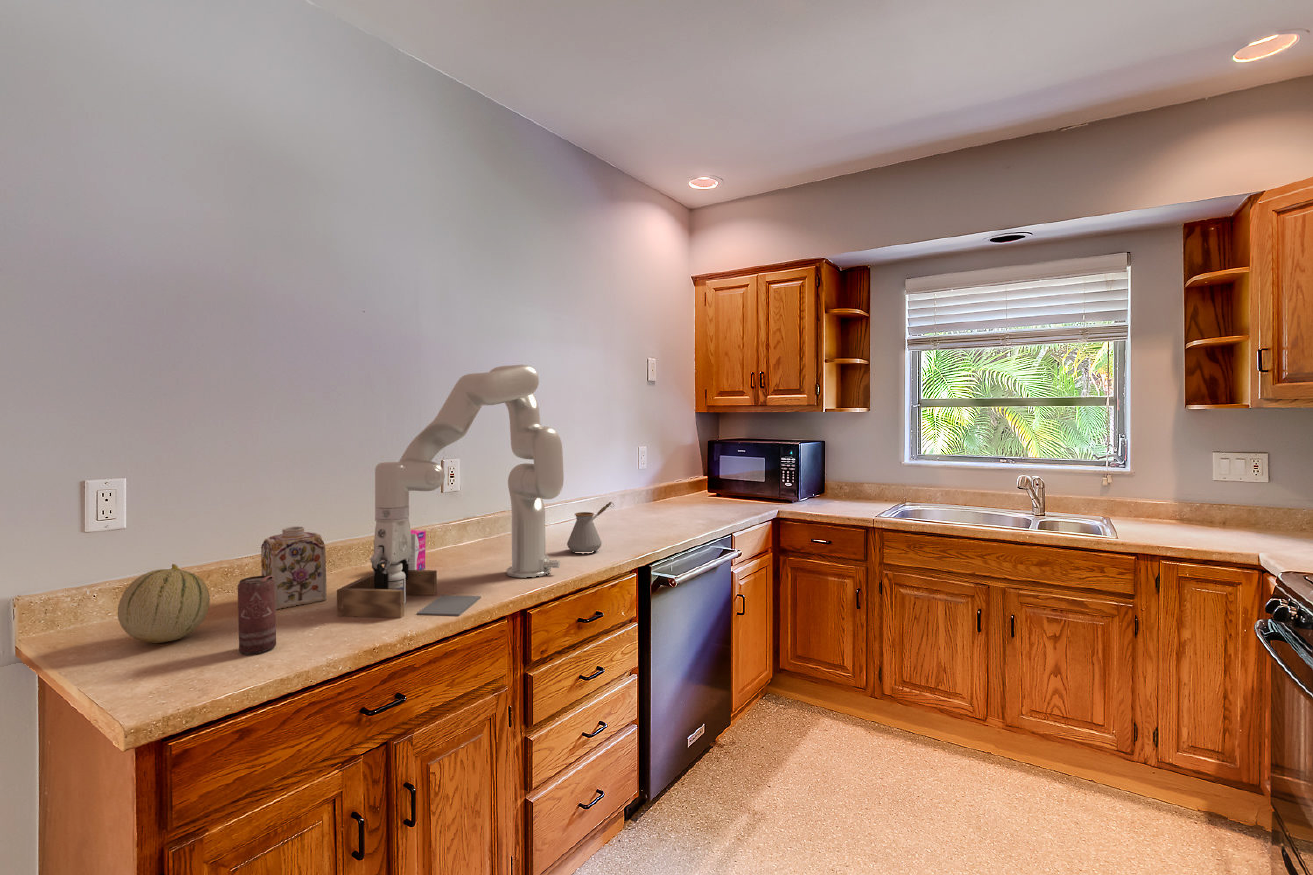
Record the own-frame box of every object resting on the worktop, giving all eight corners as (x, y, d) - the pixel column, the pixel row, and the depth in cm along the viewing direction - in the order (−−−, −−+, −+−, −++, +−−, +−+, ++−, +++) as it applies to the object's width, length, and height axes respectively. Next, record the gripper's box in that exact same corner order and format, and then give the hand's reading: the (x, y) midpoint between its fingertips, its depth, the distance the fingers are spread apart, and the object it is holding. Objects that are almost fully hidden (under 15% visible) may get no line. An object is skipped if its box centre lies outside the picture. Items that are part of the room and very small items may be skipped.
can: (284, 645, 125) (283, 575, 124) (254, 657, 119) (253, 584, 118) (262, 641, 127) (260, 573, 126) (231, 653, 121) (229, 581, 120)
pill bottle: (386, 601, 154) (385, 561, 154) (408, 600, 154) (408, 561, 154) (378, 608, 149) (377, 567, 148) (401, 607, 149) (401, 566, 149)
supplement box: (415, 573, 181) (414, 533, 180) (396, 572, 182) (396, 532, 182) (426, 568, 187) (426, 530, 186) (408, 567, 188) (408, 529, 187)
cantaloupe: (105, 659, 118) (103, 579, 117) (134, 633, 131) (131, 562, 131) (200, 647, 124) (198, 572, 123) (218, 624, 137) (216, 556, 136)
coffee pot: (587, 557, 201) (587, 510, 201) (559, 552, 207) (559, 507, 207) (625, 545, 219) (625, 502, 219) (599, 541, 225) (599, 500, 225)
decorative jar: (313, 590, 163) (312, 521, 162) (328, 600, 155) (326, 528, 154) (260, 600, 155) (258, 527, 154) (272, 611, 146) (271, 534, 146)
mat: (481, 597, 157) (481, 596, 157) (459, 615, 143) (459, 614, 143) (442, 596, 158) (442, 595, 158) (416, 614, 144) (416, 612, 144)
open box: (436, 593, 160) (436, 570, 160) (400, 617, 142) (400, 591, 141) (380, 592, 162) (380, 569, 161) (337, 615, 143) (336, 589, 143)
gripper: (389, 519, 142) (388, 595, 142) (423, 509, 159) (423, 576, 159) (357, 518, 142) (357, 593, 143) (394, 508, 159) (394, 575, 160)
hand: (391, 584), depth 151 cm, fingers open, 9 cm apart
